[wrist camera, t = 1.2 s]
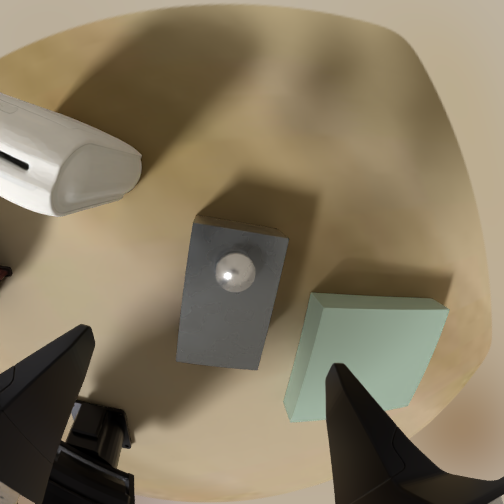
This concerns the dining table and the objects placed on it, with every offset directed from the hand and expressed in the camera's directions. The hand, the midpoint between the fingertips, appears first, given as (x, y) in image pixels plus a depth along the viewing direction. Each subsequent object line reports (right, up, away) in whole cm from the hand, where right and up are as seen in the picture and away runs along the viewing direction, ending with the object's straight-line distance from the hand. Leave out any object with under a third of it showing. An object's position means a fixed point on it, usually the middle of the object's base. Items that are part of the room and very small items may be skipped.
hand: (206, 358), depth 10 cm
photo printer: (-11, +11, +9) cm, 18 cm away
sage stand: (+12, -6, +17) cm, 21 cm away
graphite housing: (-1, +1, +13) cm, 13 cm away
